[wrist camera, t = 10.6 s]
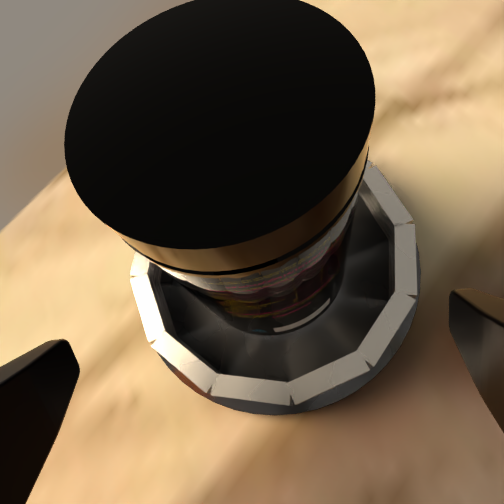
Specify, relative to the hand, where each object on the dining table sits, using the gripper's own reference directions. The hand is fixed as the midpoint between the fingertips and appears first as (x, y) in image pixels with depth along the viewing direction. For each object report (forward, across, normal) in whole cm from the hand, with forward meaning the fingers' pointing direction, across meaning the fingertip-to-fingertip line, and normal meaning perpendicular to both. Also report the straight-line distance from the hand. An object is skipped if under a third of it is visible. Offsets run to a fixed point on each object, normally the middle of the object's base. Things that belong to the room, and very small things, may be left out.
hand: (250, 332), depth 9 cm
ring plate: (+9, 0, +3) cm, 10 cm away
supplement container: (+9, 0, +2) cm, 9 cm away
